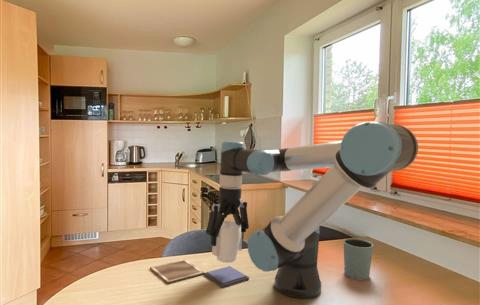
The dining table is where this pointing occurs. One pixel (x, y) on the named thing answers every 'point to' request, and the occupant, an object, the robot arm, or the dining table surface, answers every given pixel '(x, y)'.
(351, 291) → the dining table surface
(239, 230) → the cup
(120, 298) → the dining table surface
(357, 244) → the green tumbler
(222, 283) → the ink pad
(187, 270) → the marked board
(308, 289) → the robot arm
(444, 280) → the dining table surface
